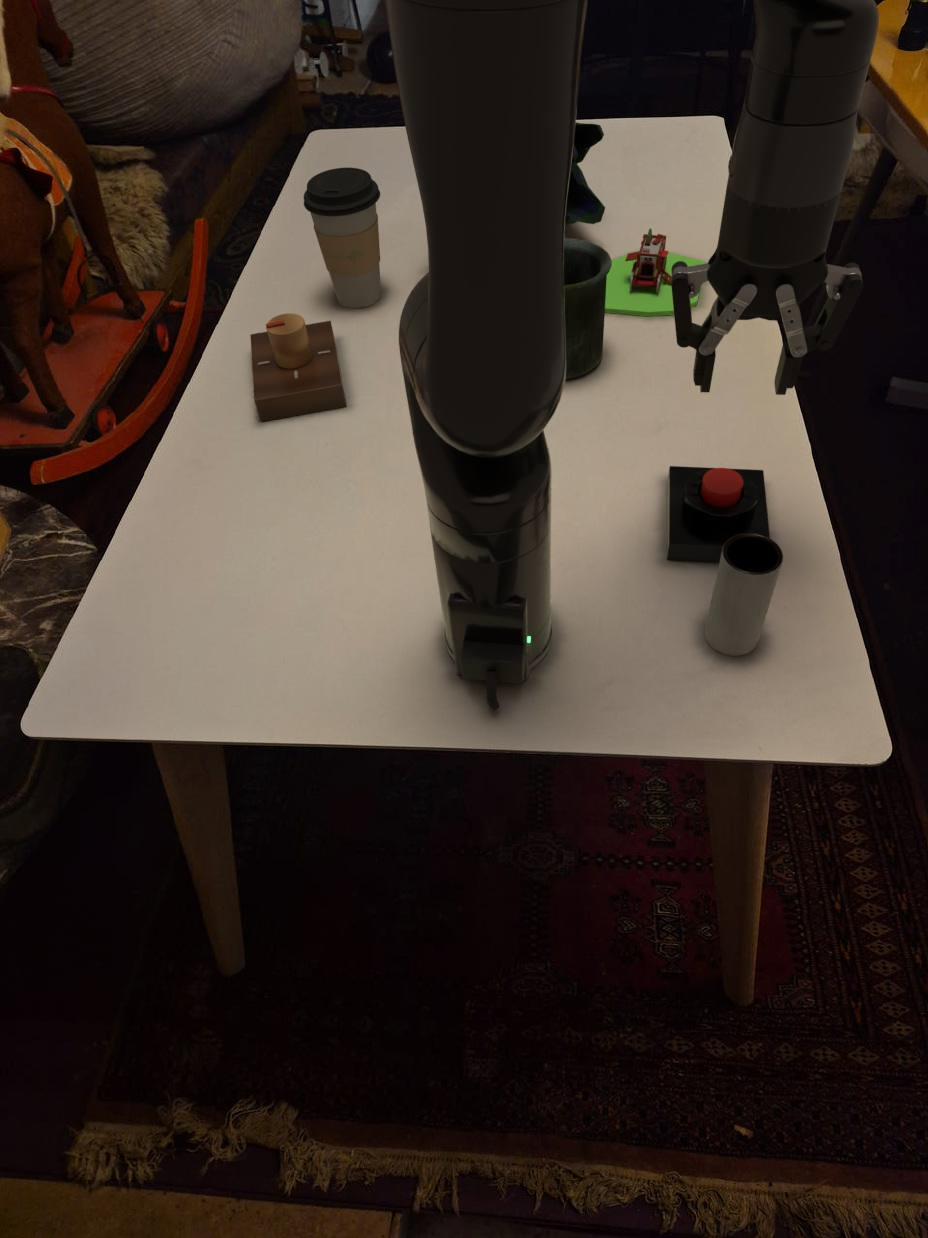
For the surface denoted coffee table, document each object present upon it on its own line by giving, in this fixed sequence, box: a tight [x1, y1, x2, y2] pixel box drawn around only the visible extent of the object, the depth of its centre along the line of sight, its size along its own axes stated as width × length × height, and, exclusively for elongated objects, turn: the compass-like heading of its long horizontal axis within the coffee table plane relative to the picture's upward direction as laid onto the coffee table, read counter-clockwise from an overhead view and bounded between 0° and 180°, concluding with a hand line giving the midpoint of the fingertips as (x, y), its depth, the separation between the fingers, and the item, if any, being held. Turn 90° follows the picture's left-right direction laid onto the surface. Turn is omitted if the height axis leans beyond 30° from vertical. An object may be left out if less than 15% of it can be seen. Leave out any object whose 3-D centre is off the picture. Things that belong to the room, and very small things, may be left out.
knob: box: [265, 312, 312, 369], centre depth 99 cm, size 4×4×5 cm
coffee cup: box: [303, 167, 382, 309], centre depth 109 cm, size 9×9×15 cm
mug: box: [564, 237, 612, 380], centre depth 98 cm, size 11×15×12 cm
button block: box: [666, 465, 771, 564], centre depth 81 cm, size 11×9×4 cm
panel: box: [249, 320, 348, 423], centre depth 102 cm, size 14×10×3 cm
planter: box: [704, 533, 784, 657], centre depth 70 cm, size 4×4×10 cm
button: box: [701, 467, 743, 507], centre depth 79 cm, size 4×4×2 cm
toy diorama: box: [605, 227, 707, 317], centre depth 109 cm, size 15×15×6 cm
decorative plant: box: [565, 121, 606, 227], centre depth 115 cm, size 21×26×30 cm
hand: (742, 387), depth 71 cm, fingers open, 5 cm apart
